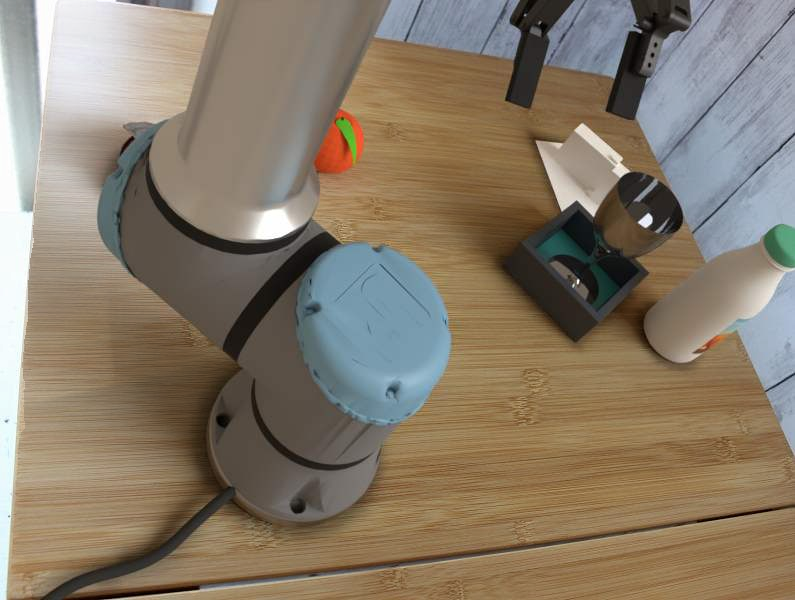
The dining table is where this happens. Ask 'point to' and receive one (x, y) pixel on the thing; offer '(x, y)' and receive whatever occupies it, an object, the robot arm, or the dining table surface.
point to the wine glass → (624, 228)
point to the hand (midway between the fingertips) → (564, 110)
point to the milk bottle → (720, 296)
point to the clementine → (340, 145)
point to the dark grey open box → (552, 290)
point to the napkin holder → (581, 168)
